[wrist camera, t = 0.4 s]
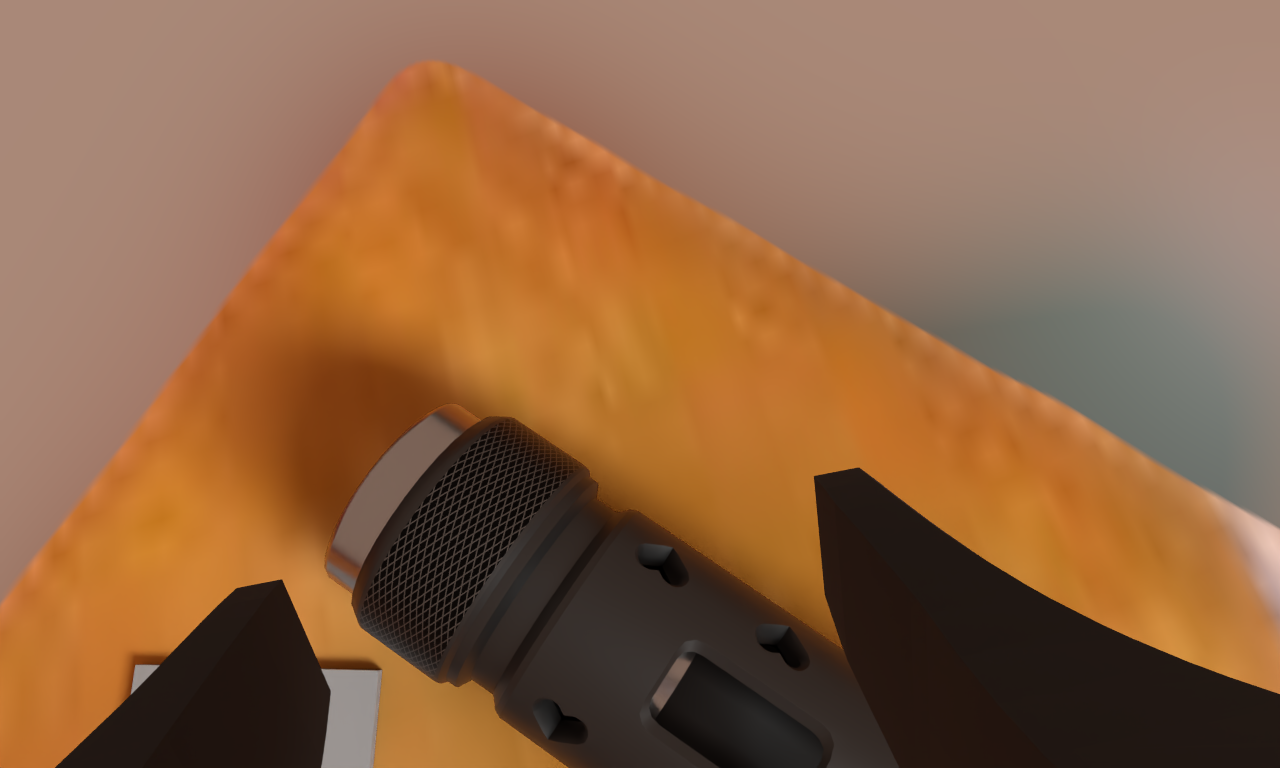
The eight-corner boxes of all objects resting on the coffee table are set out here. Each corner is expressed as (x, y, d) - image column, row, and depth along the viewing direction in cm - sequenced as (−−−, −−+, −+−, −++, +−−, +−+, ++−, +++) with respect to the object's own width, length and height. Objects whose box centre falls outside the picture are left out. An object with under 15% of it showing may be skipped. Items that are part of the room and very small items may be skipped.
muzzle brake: (920, 1005, 36) (1035, 1148, 26) (357, 598, 40) (270, 588, 30) (1032, 788, 38) (1178, 843, 28) (488, 419, 42) (448, 354, 32)
